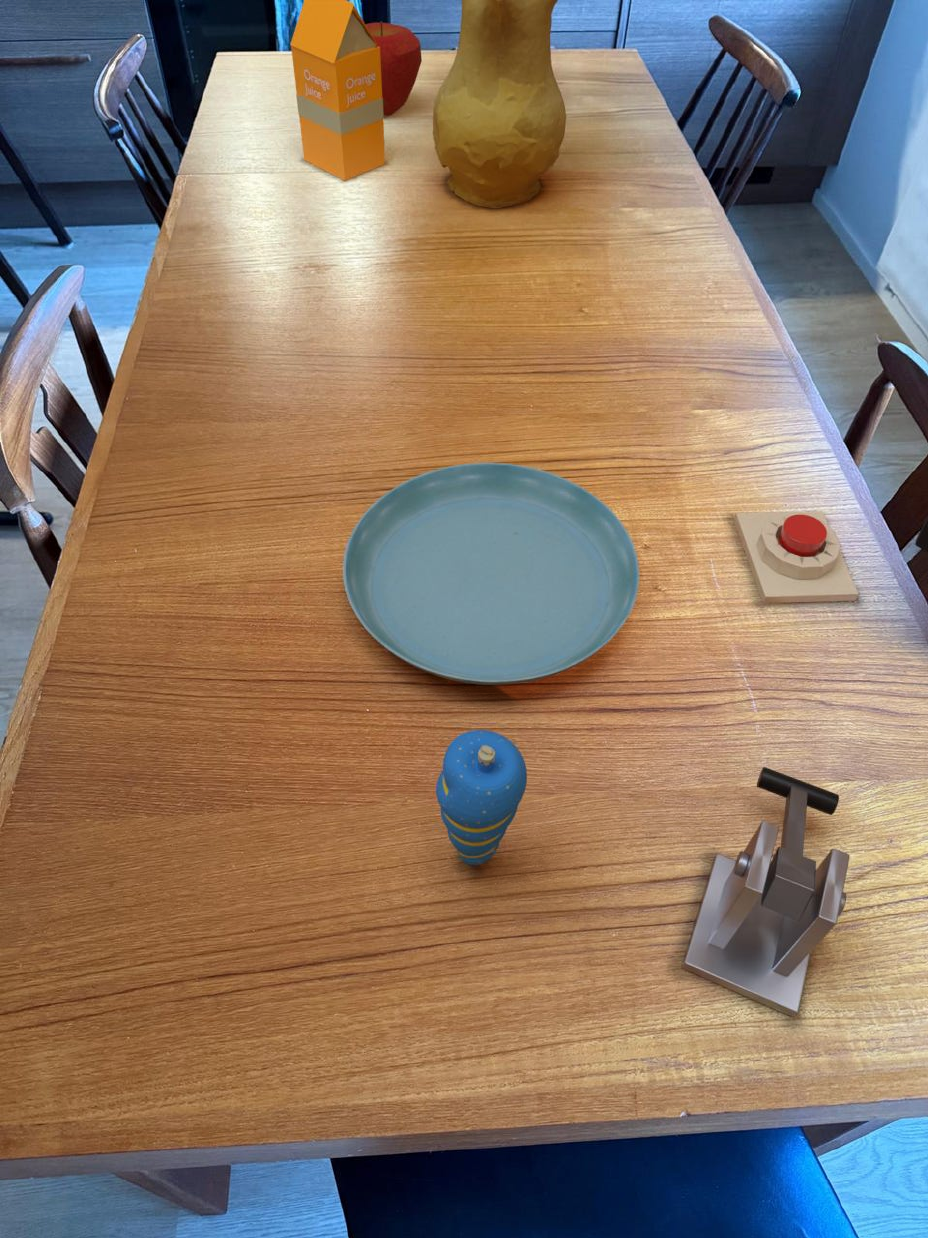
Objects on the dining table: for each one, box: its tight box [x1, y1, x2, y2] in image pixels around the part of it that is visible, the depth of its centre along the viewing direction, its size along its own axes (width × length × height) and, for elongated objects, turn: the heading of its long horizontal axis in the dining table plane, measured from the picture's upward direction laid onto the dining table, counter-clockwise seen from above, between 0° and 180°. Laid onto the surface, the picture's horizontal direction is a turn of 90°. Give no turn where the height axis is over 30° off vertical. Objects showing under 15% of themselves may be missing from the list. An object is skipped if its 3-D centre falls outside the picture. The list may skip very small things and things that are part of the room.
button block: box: [733, 510, 860, 604], centre depth 77 cm, size 10×8×2 cm
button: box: [779, 514, 827, 557], centre depth 76 cm, size 4×4×2 cm
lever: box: [756, 766, 840, 921], centre depth 55 cm, size 12×5×2 cm, turn 156°
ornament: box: [435, 729, 528, 866], centre depth 54 cm, size 5×5×15 cm
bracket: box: [681, 820, 851, 1018], centre depth 54 cm, size 8×7×10 cm
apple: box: [365, 20, 423, 117], centre depth 132 cm, size 11×11×12 cm
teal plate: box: [342, 462, 640, 686], centre depth 74 cm, size 24×24×3 cm
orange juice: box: [289, 0, 386, 182], centre depth 118 cm, size 8×9×20 cm
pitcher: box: [432, 0, 567, 209], centre depth 113 cm, size 17×19×25 cm
